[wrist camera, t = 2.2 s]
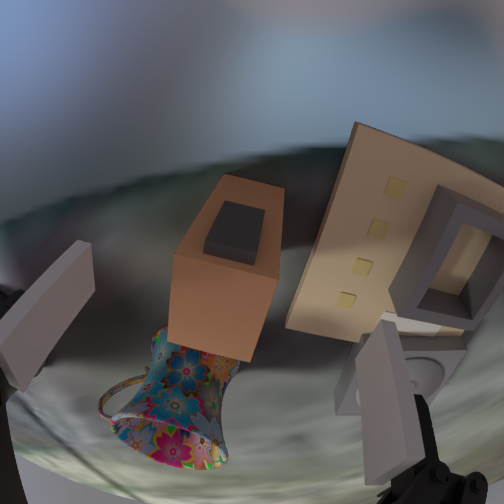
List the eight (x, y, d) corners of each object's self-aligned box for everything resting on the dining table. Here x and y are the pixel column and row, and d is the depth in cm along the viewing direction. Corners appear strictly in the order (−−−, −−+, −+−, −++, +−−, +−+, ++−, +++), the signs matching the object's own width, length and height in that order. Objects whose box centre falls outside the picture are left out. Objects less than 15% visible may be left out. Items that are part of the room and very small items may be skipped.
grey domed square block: (334, 391, 31) (335, 420, 28) (359, 323, 26) (366, 355, 22) (418, 391, 30) (424, 417, 27) (456, 327, 25) (469, 354, 22)
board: (285, 317, 26) (283, 356, 22) (354, 121, 18) (370, 132, 14) (441, 347, 26) (453, 380, 23) (527, 201, 18) (557, 225, 14)
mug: (240, 314, 26) (216, 427, 17) (249, 381, 31) (234, 475, 22) (114, 308, 28) (62, 396, 19) (142, 371, 33) (109, 451, 24)
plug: (211, 239, 23) (167, 341, 14) (225, 164, 20) (175, 240, 12) (266, 252, 23) (249, 362, 15) (287, 179, 20) (282, 266, 12)
